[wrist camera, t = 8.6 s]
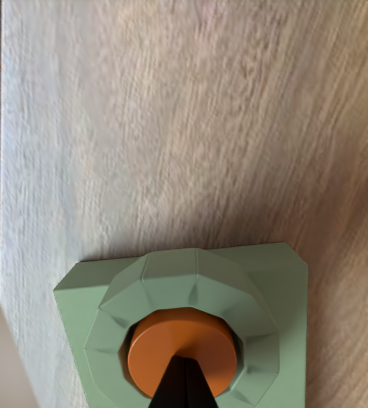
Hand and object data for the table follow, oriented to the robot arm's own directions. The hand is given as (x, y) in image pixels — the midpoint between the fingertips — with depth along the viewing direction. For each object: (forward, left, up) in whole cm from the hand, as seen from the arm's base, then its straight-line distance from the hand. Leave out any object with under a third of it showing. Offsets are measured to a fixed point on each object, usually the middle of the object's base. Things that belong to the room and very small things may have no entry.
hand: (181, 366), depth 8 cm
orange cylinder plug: (0, 0, -2) cm, 2 cm away
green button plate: (-3, -4, -4) cm, 7 cm away
